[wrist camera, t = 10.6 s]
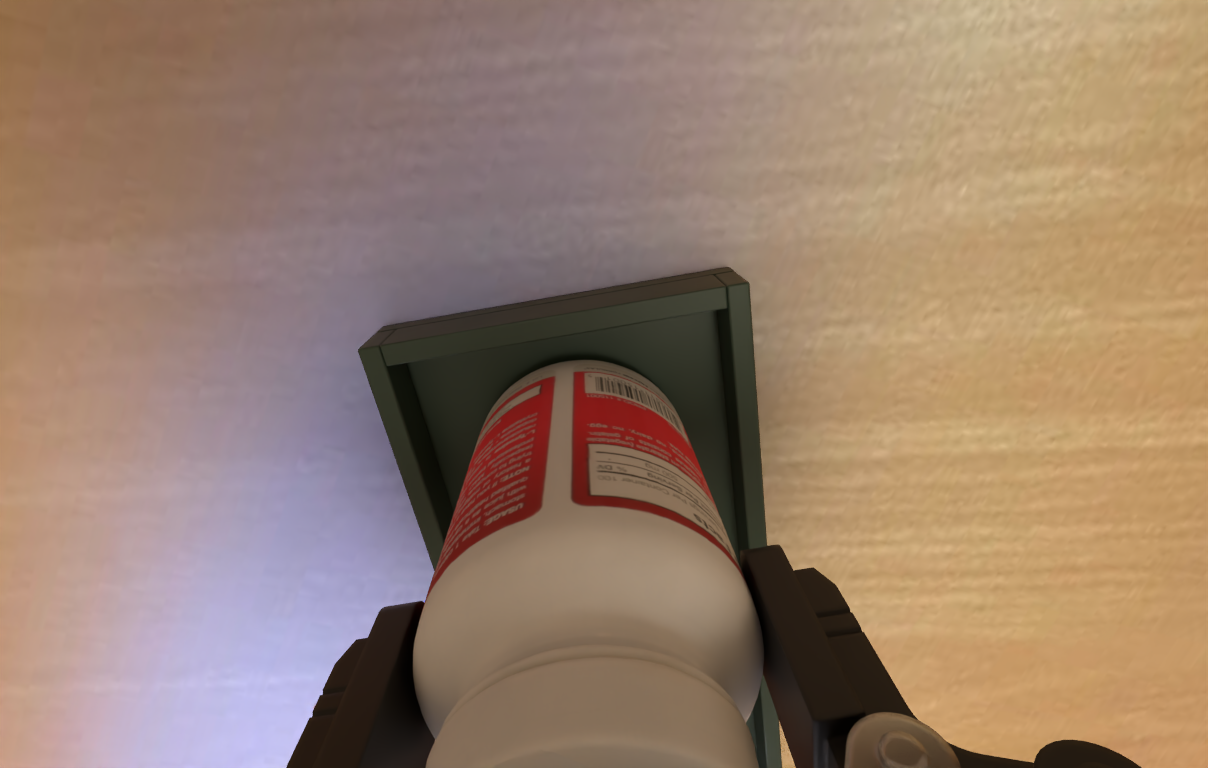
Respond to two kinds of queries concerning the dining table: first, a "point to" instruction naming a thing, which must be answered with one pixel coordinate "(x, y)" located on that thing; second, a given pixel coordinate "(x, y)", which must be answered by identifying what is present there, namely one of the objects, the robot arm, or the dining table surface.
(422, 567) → the dining table surface
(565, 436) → the pill bottle
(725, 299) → the tray
